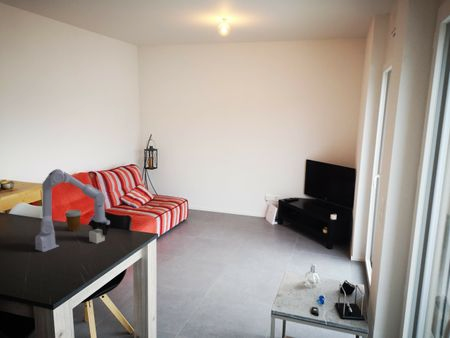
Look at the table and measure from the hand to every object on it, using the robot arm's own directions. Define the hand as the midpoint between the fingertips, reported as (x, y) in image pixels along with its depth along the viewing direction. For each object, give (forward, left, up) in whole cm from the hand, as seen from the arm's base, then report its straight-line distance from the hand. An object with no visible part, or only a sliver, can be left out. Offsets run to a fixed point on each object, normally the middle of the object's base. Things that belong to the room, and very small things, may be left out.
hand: (100, 233), depth 206 cm
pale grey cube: (-2, 0, -4) cm, 4 cm away
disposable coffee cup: (+3, +27, -4) cm, 27 cm away
